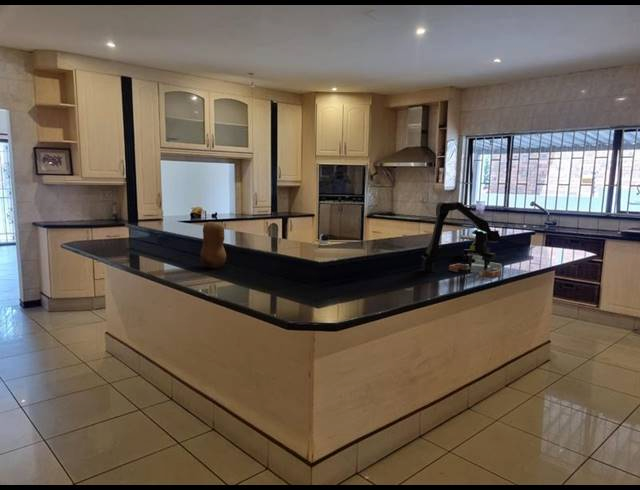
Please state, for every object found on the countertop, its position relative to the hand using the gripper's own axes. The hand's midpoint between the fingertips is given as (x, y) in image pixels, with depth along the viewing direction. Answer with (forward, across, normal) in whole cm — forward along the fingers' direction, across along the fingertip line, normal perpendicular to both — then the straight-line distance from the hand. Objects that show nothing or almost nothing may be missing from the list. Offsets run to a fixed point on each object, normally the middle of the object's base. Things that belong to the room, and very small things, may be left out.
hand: (477, 268), depth 261 cm
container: (+2, +88, +41) cm, 97 cm away
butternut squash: (+2, +87, +122) cm, 150 cm away
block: (+2, 0, -2) cm, 3 cm away
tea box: (+2, +27, -38) cm, 47 cm away
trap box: (+2, 0, -1) cm, 2 cm away
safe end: (+2, 0, -12) cm, 12 cm away
